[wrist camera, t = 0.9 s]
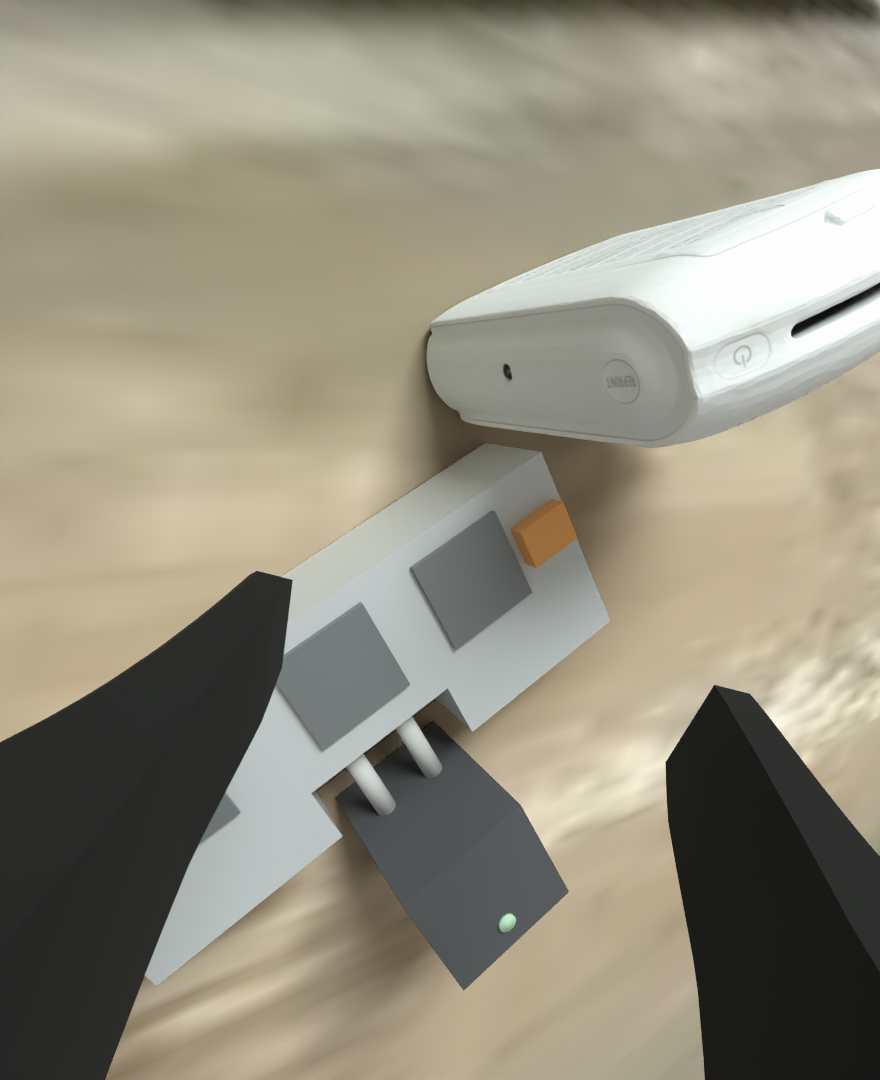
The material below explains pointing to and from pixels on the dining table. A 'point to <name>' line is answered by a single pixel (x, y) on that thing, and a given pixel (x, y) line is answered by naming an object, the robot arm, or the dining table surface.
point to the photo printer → (674, 323)
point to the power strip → (390, 664)
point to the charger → (452, 848)
